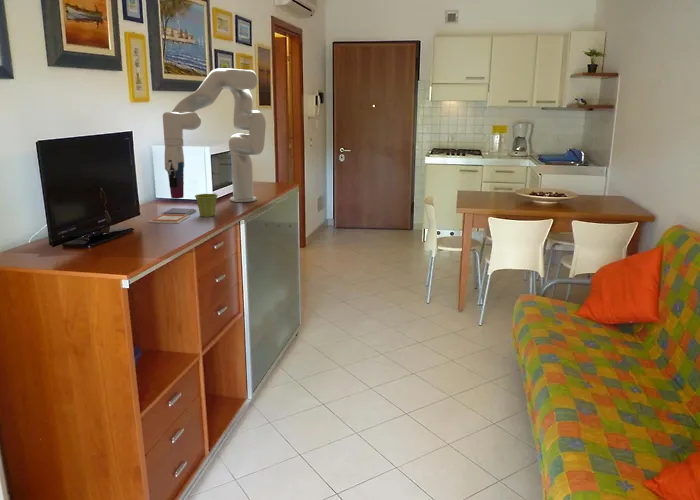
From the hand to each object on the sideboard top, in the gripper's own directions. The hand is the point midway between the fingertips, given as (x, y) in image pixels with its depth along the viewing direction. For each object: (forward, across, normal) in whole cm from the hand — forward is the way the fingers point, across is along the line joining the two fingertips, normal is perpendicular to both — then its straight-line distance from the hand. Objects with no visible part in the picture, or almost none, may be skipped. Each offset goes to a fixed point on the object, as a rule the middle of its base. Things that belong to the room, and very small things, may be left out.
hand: (176, 185), depth 238 cm
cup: (+5, 0, 0) cm, 5 cm away
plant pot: (+12, +2, +14) cm, 18 cm away
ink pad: (+12, 0, 0) cm, 12 cm away
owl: (+13, +39, -17) cm, 44 cm away
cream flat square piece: (+12, +12, +1) cm, 17 cm away
